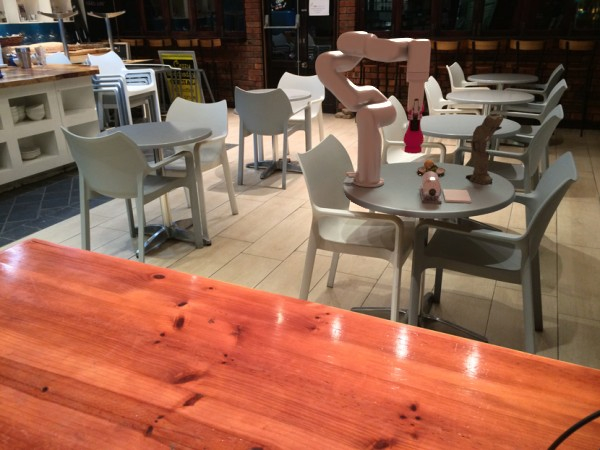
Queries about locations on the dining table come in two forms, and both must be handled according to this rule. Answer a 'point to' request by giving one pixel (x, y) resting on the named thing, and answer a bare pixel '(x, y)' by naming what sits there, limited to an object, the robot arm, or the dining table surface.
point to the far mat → (456, 196)
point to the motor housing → (430, 188)
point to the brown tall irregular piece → (483, 148)
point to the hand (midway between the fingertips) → (414, 128)
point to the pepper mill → (413, 136)
